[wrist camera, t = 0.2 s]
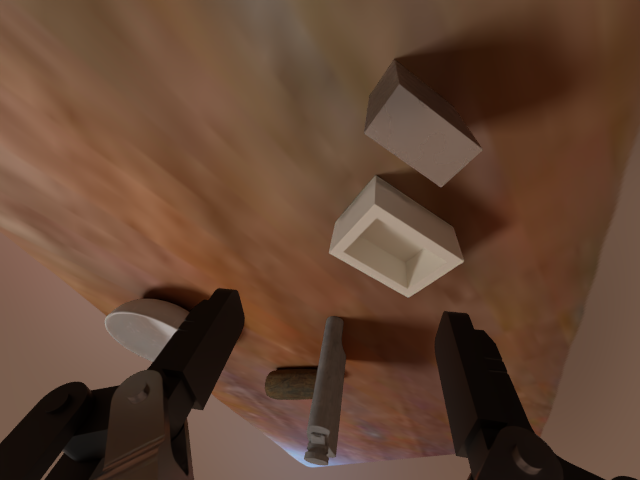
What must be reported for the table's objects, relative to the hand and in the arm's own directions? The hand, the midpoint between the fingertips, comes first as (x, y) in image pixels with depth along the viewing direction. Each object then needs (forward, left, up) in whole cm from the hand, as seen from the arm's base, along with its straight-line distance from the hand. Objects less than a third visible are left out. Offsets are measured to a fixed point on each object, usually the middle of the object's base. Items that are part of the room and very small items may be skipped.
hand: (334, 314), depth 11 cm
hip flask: (+37, +20, -23) cm, 48 cm away
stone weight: (+56, +22, -23) cm, 64 cm away
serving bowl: (+56, -10, -23) cm, 61 cm away
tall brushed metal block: (-4, +2, -23) cm, 23 cm away
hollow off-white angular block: (+8, +10, -23) cm, 26 cm away
